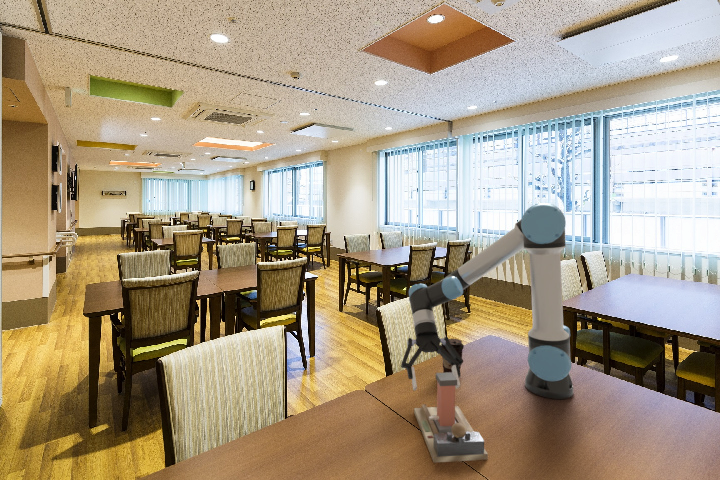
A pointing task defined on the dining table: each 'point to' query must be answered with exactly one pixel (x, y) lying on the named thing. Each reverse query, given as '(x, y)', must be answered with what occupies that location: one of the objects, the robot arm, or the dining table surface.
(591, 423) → the dining table surface
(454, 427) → the brown ball
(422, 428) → the cream base plate
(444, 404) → the handle
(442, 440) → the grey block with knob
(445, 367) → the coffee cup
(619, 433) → the dining table surface
